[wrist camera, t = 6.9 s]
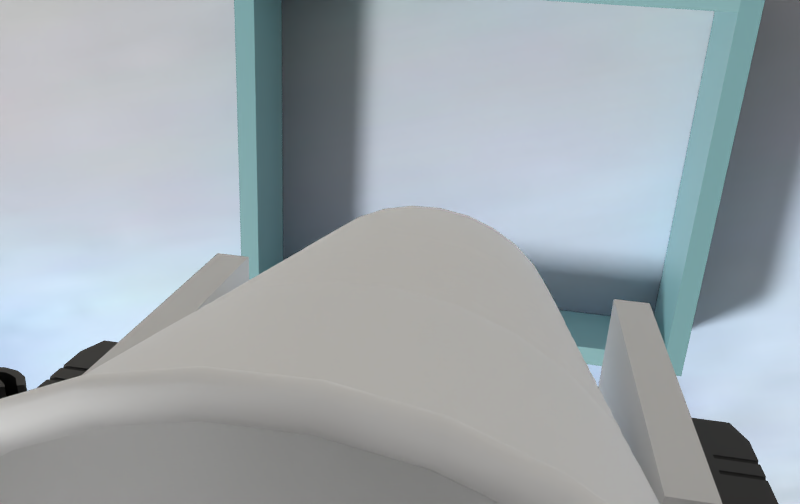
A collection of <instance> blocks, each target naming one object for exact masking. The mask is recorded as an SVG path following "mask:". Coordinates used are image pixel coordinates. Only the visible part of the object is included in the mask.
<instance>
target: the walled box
mask: <svg viewBox="0 0 800 504" xmlns="http://www.w3.org/2000/svg"><path fill="white" fill-rule="evenodd" d="M548 1H564V2H579V3H595V4H611V5H627V6H643V7H659V8H675V9H690V10H706V11H715V13H714V18H713V23H712V28H711V33H710V38H709V43H708V48H707V53H706V58H705V63H704V68H703V73H702V78H701V83H700V88H699V93H698V98H697V103H696V108H695V113H694V118H693V123H692V128H691V133H690V138H689V143H688V148H687V153H686V158H685V163H684V168H683V173H682V178H681V183H680V188H679V193H678V198H677V203H676V208H675V213H674V218H673V222H672V227H671V232H670V237H669V242H668V247H667V252H666V257H665V262H664V267H663V272H662V277H661V282H660V287H659V292H658V297H657V302H656V307H655V312H654V317H655V319H656V322H657V325H658V328H659V330H660V333H661V336H662V339H663V341H664V344H665V347H666V350H667V352H668V355H669V358H670V361H671V363H672V366H673V369H674V372H675V374H676V375H677V376H681V374H682V370H683V365H684V361H685V357H686V352H687V348H688V343H689V339H690V334H691V330H692V325H693V321H694V316H695V312H696V307H697V303H698V298H699V294H700V289H701V285H702V280H703V276H704V271H705V267H706V262H707V258H708V254H709V249H710V245H711V240H712V236H713V231H714V227H715V222H716V218H717V213H718V209H719V204H720V200H721V195H722V191H723V186H724V182H725V177H726V173H727V168H728V164H729V159H730V155H731V151H732V146H733V142H734V137H735V133H736V128H737V124H738V119H739V115H740V110H741V106H742V101H743V97H744V92H745V88H746V83H747V79H748V74H749V70H750V65H751V61H752V56H753V52H754V48H755V43H756V39H757V34H758V30H759V25H760V21H761V16H762V12H763V7H764V3H765V0H548ZM234 9H235V45H236V81H237V118H238V154H239V190H240V227H241V256H245V257H249V280H250V279H252V278H254V277H256V276H257V275H259V274H261V273H262V272H264V271H266V270H268V269H270V268H271V267H273V266H275V265H276V264H278V263H280V262H282V261H283V176H282V0H234ZM559 311H560V313H561V315H562V317H563V319H564V321H565V324H566V326H567V328H568V329H569V331H570V333H571V336H572V338H573V339H574V341H575V343H576V345H577V347H578V349H579V351H580V352H581V354H582V357H583V359H584V361H585V362H586V364H590V365H598V366H602V364H603V358H604V352H605V347H606V341H607V335H608V330H609V324H610V318H611V316H605V315H597V314H588V313H580V312H572V311H563V310H559Z"/></svg>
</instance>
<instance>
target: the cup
mask: <svg viewBox="0 0 800 504" xmlns="http://www.w3.org/2000/svg"><path fill="white" fill-rule="evenodd" d="M0 504H660V503H659V501H658V499H657V497H656V496H655V494H654V492H653V490H652V488H651V486H650V484H649V482H648V480H647V478H646V476H645V474H644V473H643V471H642V469H641V467H640V465H639V464H638V462H637V460H636V459H635V457H634V455H633V453H632V452H631V449H630V447H629V445H628V443H627V442H626V440H625V438H624V437H623V435H622V433H621V430H620V427H619V426H618V424H617V422H616V421H615V419H614V417H613V415H612V412H611V410H610V408H609V407H608V405H607V403H606V402H605V400H604V397H603V395H602V393H601V391H600V390H599V388H598V386H597V384H596V381H595V379H594V378H593V376H592V374H591V373H590V371H589V368H588V366H587V364H586V362H585V361H584V359H583V357H582V354H581V352H580V351H579V349H578V347H577V345H576V343H575V341H574V339H573V338H572V336H571V333H570V331H569V329H568V328H567V326H566V324H565V321H564V319H563V317H562V315H561V313H560V311H559V309H558V307H557V305H556V304H555V302H554V300H553V298H552V296H551V294H550V292H549V290H548V288H547V287H546V285H545V283H544V281H543V280H542V278H541V276H540V275H539V273H538V271H537V270H536V268H535V266H534V265H533V264H532V263H531V261H530V260H529V259H528V258H527V257H526V256H525V255H524V254H523V253H522V251H521V250H520V249H519V248H518V247H517V246H516V245H515V244H514V243H512V242H511V241H510V240H508V239H507V238H506V237H504V236H503V235H502V234H500V233H499V232H498V231H496V230H495V229H494V228H492V227H490V226H488V225H486V224H484V223H482V222H480V221H477V220H475V219H473V218H471V217H469V216H467V215H463V214H460V213H456V212H452V211H449V210H445V209H441V208H432V207H420V206H406V207H397V208H388V209H383V210H379V211H376V212H373V213H370V214H367V215H364V216H361V217H358V218H356V219H354V220H353V221H351V222H349V223H347V224H345V225H344V226H342V227H340V228H338V229H337V230H335V231H333V232H331V233H330V234H328V235H326V236H324V237H323V238H321V239H319V240H317V241H316V242H314V243H312V244H311V245H309V246H307V247H305V248H304V249H303V250H301V251H299V252H297V253H295V254H294V255H292V256H290V257H289V258H287V259H285V260H283V261H282V262H280V263H278V264H276V265H275V266H273V267H271V268H270V269H268V270H266V271H264V272H262V273H261V274H259V275H257V276H256V277H254V278H252V279H250V280H249V281H247V282H245V283H244V284H242V285H240V286H238V287H236V288H235V289H233V290H232V291H230V292H228V293H226V294H224V295H223V296H221V297H219V298H217V299H216V300H214V301H212V302H211V303H209V304H207V305H205V306H203V307H202V308H200V309H198V310H197V311H195V312H193V313H191V314H189V315H188V316H186V317H184V318H182V319H181V320H179V321H177V322H175V323H173V324H172V325H170V326H168V327H166V328H164V329H163V330H161V331H159V332H158V333H156V334H154V335H152V336H151V337H149V338H147V339H145V340H144V341H142V342H140V343H138V344H137V345H135V346H133V347H131V348H130V349H128V350H126V351H124V352H123V353H121V354H119V355H117V356H116V357H114V358H112V359H111V360H109V361H107V362H105V363H104V364H102V365H100V366H98V367H97V368H95V369H93V370H91V371H90V372H88V373H86V374H84V375H81V376H78V377H74V378H71V379H67V380H64V381H60V382H57V383H53V384H50V385H46V386H43V387H39V388H36V389H32V390H29V391H25V392H22V393H19V394H15V395H12V396H8V397H5V398H1V399H0Z"/></svg>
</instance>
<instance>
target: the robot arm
mask: <svg viewBox="0 0 800 504" xmlns="http://www.w3.org/2000/svg"><path fill="white" fill-rule="evenodd" d="M247 281H249V257H245V256H236V255H227V254H219V253H218V254H217V255H215V256H214V257H213V258H212V259H211V260H210V261H209V262H208V263H206V264H205V265H204V266H203V267H202V268H201V269H200V270H199V271H198V272H196V273H195V274H194V275H193V276H192V277H191V278H190V279H189V280H187V281H186V282H185V283H184V284H183V285H182V286H181V287H180V288H179V289H177V290H176V291H175V292H174V293H173V294H172V295H171V296H170V297H168V298H167V299H166V300H165V301H164V302H163V303H162V304H161V305H160V306H158V307H157V308H156V309H155V310H154V311H153V312H152V313H151V314H150V315H148V316H147V317H146V318H145V319H144V320H143V321H142V322H141V323H139V324H138V325H137V326H136V327H135V328H134V329H133V330H132V331H131V332H129V333H128V334H127V335H126V336H125V337H124V338H123V339H122V340H120V341H119V342H111V341H103V342H100V343H98V344H96V345H94V346H91V347H89V348H87V349H85V350H83V351H80V352H79V353H78V354H77V355H76V356H74V357H73V358H72V359H71V360H70V361H68V362H67V363H66V364H65V365H64V368H60V369H59V370H58V371H57V372H55V373H54V374H53V375H52V376H51V377H50V380H46V381H45V382H43V383H42V384H41V385H40V386H39V387H43V386H46V385H50V384H53V383H57V382H60V381H64V380H67V379H71V378H74V377H78V376H81V375H84V374H86V373H88V372H90V371H91V370H93V369H95V368H97V367H98V366H100V365H102V364H104V363H105V362H107V361H109V360H111V359H112V358H114V357H116V356H117V355H119V354H121V353H123V352H124V351H126V350H128V349H130V348H131V347H133V346H135V345H137V344H138V343H140V342H142V341H144V340H145V339H147V338H149V337H151V336H152V335H154V334H156V333H158V332H159V331H161V330H163V329H164V328H166V327H168V326H170V325H172V324H173V323H175V322H177V321H179V320H181V319H182V318H184V317H186V316H188V315H189V314H191V313H193V312H195V311H197V310H198V309H200V308H202V307H203V306H205V305H207V304H209V303H211V302H212V301H214V300H216V299H217V298H219V297H221V296H223V295H224V294H226V293H228V292H230V291H232V290H233V289H235V288H236V287H238V286H240V285H242V284H244V283H245V282H247ZM39 387H38V388H39ZM598 388H599V390H600V391H601V393H602V395H603V397H604V400H605V402H606V403H607V405H608V407H609V408H610V410H611V412H612V415H613V417H614V419H615V421H616V422H617V424H618V426H619V427H620V430H621V433H622V435H623V437H624V438H625V440H626V442H627V443H628V445H629V447H630V449H631V452H632V453H633V455H634V457H635V459H636V460H637V462H638V464H639V465H640V467H641V469H642V471H643V473H644V474H645V476H646V478H647V480H648V482H649V484H650V486H651V488H652V490H653V492H654V494H655V496H656V497H657V499H658V501H659V503H660V504H778V502H777V500H776V498H775V496H774V493H773V491H772V489H771V487H770V485H769V483H768V481H766V479H765V478H766V476H765V474H764V472H763V470H762V468H761V466H760V465H758V459H757V457H756V455H755V453H754V451H753V449H752V447H751V444H750V442H749V441H748V440H747V439H746V438H745V437H744V436H743V435H742V434H741V433H739V432H738V431H737V430H736V429H735V428H734V427H733V426H732V425H731V424H730V423H726V422H719V421H711V420H704V419H697V418H691V416H690V413H689V410H688V407H687V405H686V402H685V399H684V396H683V394H682V391H681V388H680V385H679V383H678V380H677V377H676V374H675V372H674V369H673V366H672V363H671V361H670V358H669V355H668V352H667V350H666V347H665V344H664V341H663V339H662V336H661V333H660V330H659V328H658V325H657V322H656V319H655V317H654V314H653V311H652V308H651V306H650V303H643V302H634V301H626V300H617V299H614V301H613V307H612V313H611V318H610V324H609V330H608V335H607V341H606V347H605V352H604V358H603V364H602V369H601V375H600V381H599V386H598ZM25 391H27V388H26V381H25V377H24V376H23V375H22V374H21V373H20V372H19V371H17V370H13V369H9V368H5V367H0V399H1V398H5V397H8V396H12V395H15V394H19V393H22V392H25Z"/></svg>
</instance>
